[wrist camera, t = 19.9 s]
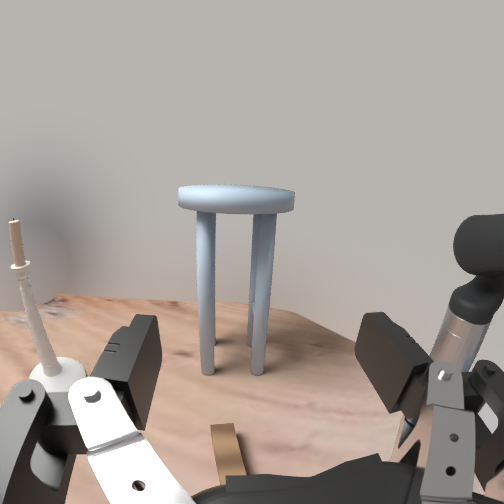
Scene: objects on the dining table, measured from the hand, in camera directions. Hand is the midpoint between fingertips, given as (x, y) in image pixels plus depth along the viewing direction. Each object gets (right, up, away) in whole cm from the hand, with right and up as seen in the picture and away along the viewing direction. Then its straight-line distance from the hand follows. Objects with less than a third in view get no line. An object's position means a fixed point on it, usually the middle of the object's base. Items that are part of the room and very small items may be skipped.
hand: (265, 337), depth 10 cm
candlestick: (-37, -21, +27) cm, 50 cm away
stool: (-4, -17, +42) cm, 46 cm away
